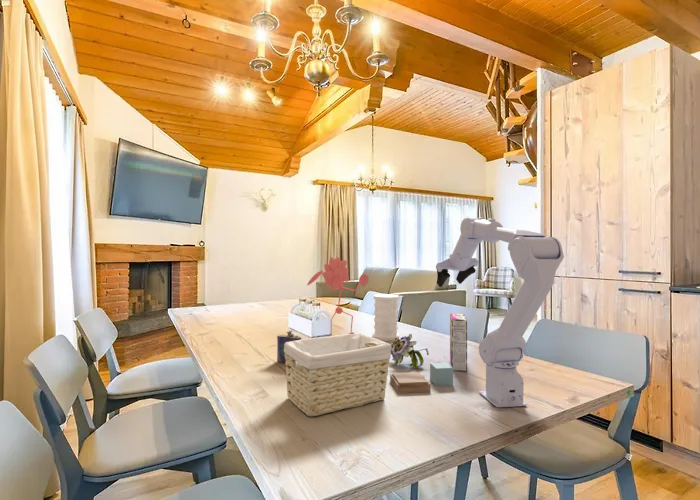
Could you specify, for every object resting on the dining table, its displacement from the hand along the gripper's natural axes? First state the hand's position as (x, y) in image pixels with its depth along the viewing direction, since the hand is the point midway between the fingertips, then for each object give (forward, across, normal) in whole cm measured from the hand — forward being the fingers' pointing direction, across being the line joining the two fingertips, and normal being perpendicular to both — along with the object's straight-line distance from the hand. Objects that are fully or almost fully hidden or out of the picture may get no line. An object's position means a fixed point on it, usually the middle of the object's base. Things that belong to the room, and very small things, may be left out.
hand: (448, 283), depth 124 cm
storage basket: (+10, +46, +24) cm, 53 cm away
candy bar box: (+21, 0, +18) cm, 28 cm away
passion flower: (+25, +14, +11) cm, 31 cm away
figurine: (+41, +30, -11) cm, 52 cm away
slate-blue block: (+13, +14, +26) cm, 32 cm away
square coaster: (+12, +24, +24) cm, 36 cm away
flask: (+31, +50, -2) cm, 59 cm away
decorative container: (+48, +4, -15) cm, 51 cm away
